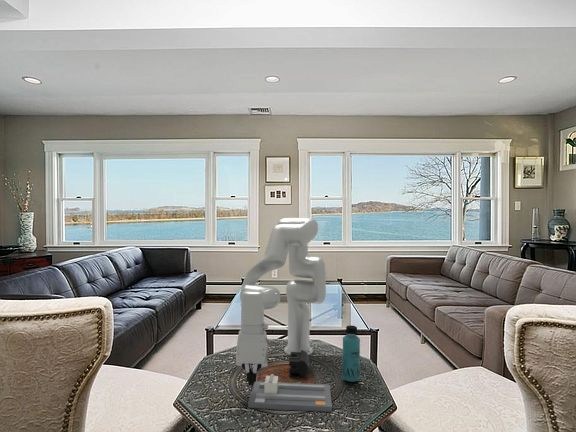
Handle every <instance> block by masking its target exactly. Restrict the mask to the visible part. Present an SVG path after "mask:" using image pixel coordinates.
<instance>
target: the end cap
mask: <svg viewBox="0 0 576 432" xmlns="http://www.w3.org/2000/svg"><path fill="white" fill-rule="evenodd" d="M289 356H290V357H289V360H288V366H289V367H290V368H289V369H288V377H289V378H297V377H300V378H302V377H305V375H306V374H308V371H309V361H310V360H309V359H310V355H308V354H307V352H305V351H304V350H301V352H291V354H290V355H289ZM295 356H296V357H295Z"/></svg>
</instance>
